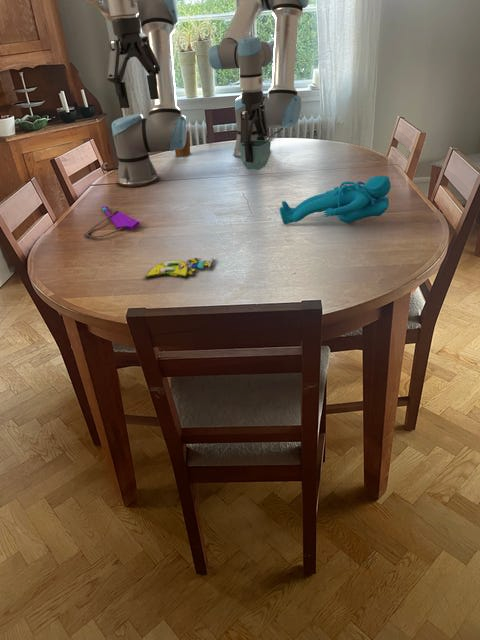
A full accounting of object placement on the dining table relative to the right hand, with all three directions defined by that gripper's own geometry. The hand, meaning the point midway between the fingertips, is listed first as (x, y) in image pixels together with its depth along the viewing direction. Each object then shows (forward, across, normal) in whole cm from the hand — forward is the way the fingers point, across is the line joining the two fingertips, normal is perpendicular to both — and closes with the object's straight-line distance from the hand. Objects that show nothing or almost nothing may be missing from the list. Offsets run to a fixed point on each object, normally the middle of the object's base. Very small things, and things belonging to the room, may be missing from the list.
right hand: (255, 158), depth 174 cm
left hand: (-25, -40, +16) cm, 49 cm away
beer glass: (+6, +20, +48) cm, 52 cm away
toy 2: (+7, -33, -42) cm, 54 cm away
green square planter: (+4, 0, 0) cm, 4 cm away
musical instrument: (+7, -57, +22) cm, 61 cm away
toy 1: (+7, -73, -18) cm, 76 cm away
